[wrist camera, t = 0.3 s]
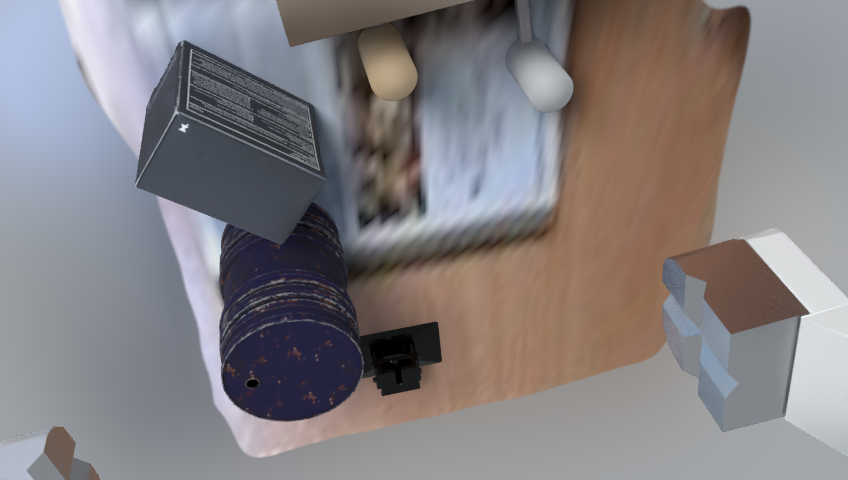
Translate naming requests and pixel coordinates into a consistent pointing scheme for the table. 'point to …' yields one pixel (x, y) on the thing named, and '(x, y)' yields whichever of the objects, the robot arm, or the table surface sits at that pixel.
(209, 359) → the table surface
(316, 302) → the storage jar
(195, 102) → the small box
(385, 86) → the cylinder on stand
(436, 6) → the divided storage tray
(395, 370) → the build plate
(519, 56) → the ball-top joystick
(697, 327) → the robot arm
